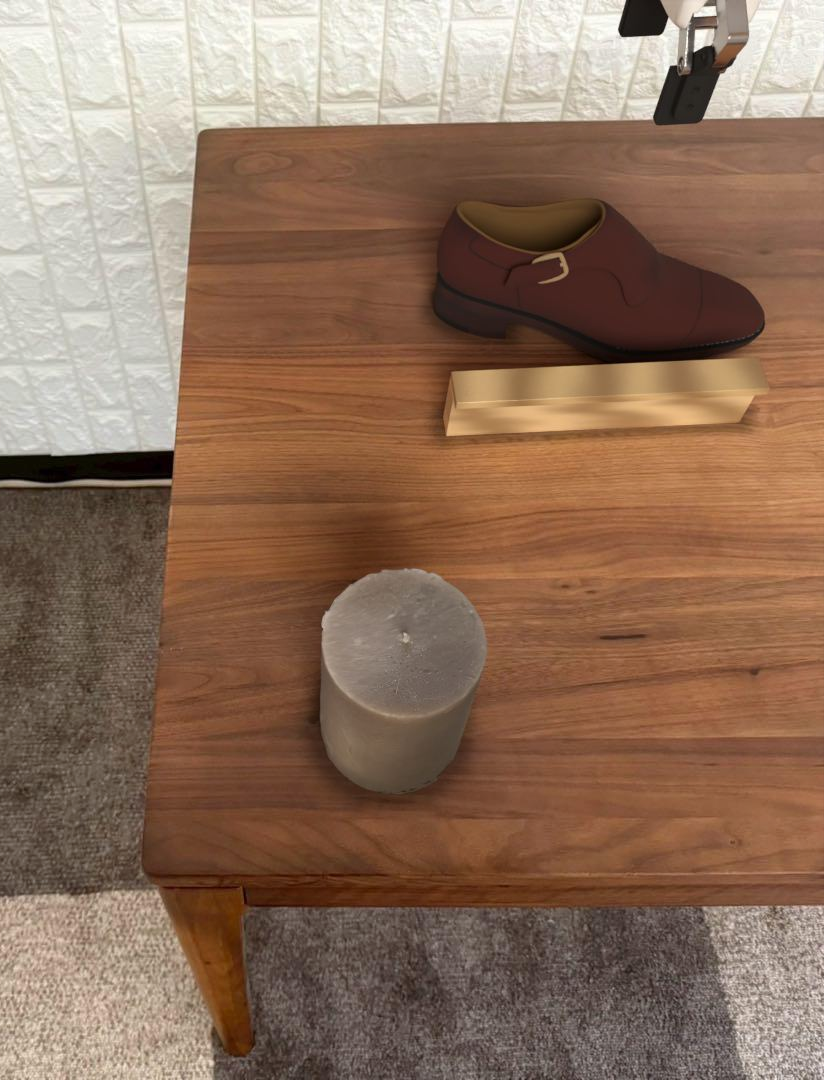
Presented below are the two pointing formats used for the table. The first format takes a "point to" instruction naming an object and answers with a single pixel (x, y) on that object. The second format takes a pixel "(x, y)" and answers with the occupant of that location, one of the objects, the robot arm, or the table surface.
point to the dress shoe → (585, 284)
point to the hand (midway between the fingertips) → (657, 76)
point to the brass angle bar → (602, 396)
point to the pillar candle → (398, 678)
